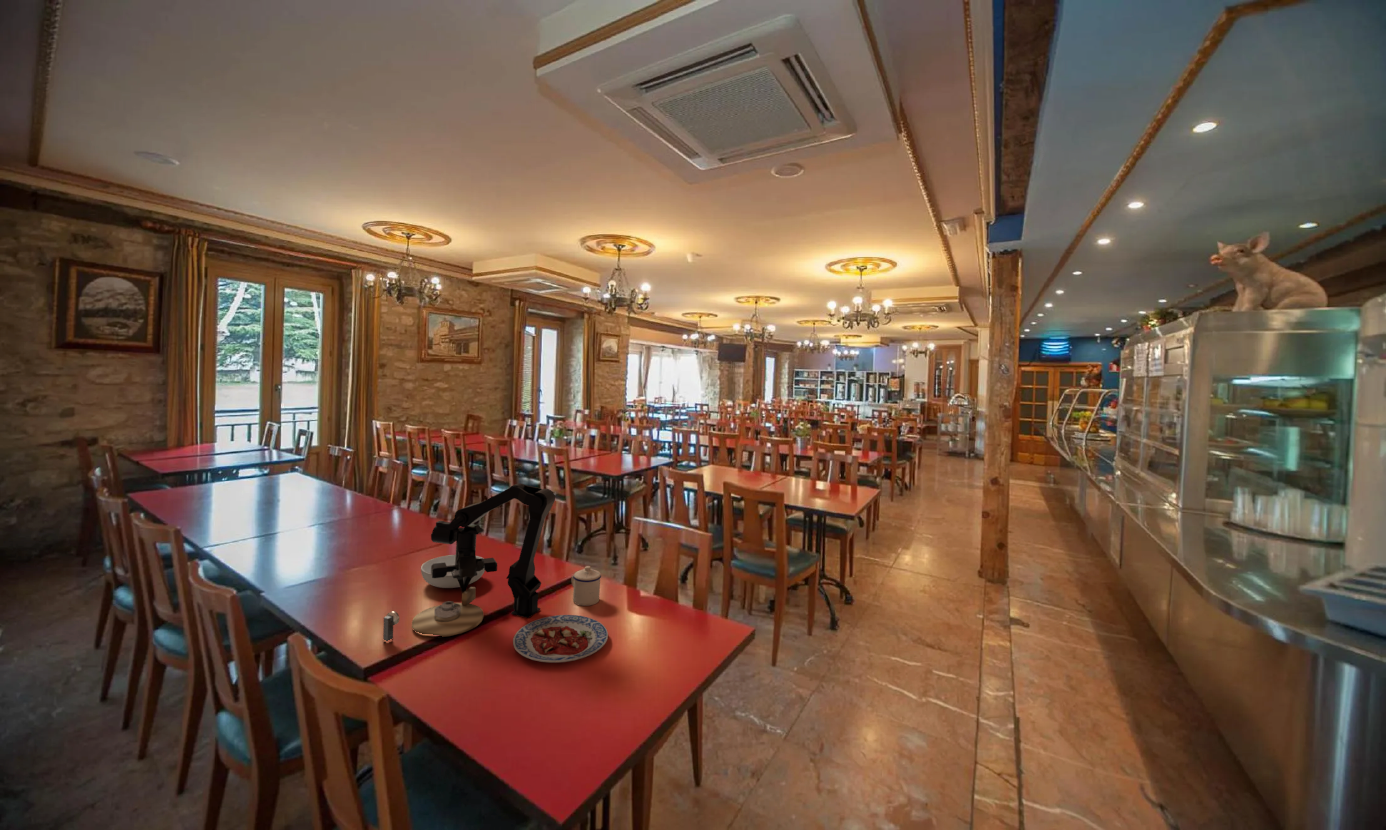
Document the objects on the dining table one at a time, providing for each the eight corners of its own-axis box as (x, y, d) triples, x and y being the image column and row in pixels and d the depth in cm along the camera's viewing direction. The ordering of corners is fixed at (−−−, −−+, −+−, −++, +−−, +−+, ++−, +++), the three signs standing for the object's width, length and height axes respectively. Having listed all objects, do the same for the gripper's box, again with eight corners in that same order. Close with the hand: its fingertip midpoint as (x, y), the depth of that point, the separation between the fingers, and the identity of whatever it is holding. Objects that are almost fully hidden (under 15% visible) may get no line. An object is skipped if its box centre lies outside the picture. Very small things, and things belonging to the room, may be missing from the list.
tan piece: (486, 629, 145) (487, 612, 144) (411, 642, 135) (411, 624, 135) (479, 600, 163) (480, 585, 162) (412, 610, 154) (412, 594, 153)
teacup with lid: (605, 600, 169) (607, 566, 169) (584, 609, 162) (586, 574, 161) (581, 590, 177) (583, 557, 176) (561, 598, 169) (562, 564, 169)
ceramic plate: (509, 674, 125) (509, 662, 125) (516, 625, 150) (516, 615, 150) (612, 664, 132) (613, 653, 132) (603, 618, 157) (603, 609, 157)
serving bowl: (469, 597, 166) (470, 577, 165) (407, 593, 166) (407, 573, 166) (495, 574, 187) (496, 555, 186) (440, 570, 187) (440, 552, 187)
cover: (461, 619, 147) (461, 606, 147) (434, 623, 144) (434, 610, 143) (459, 609, 153) (460, 596, 153) (434, 613, 150) (434, 600, 150)
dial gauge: (398, 640, 137) (399, 612, 137) (390, 644, 135) (391, 616, 134) (388, 637, 138) (389, 609, 138) (380, 641, 136) (381, 613, 135)
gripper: (435, 557, 147) (432, 609, 148) (502, 550, 157) (498, 599, 157) (432, 545, 156) (429, 594, 157) (495, 540, 166) (492, 586, 167)
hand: (463, 593), depth 159 cm, fingers closed
